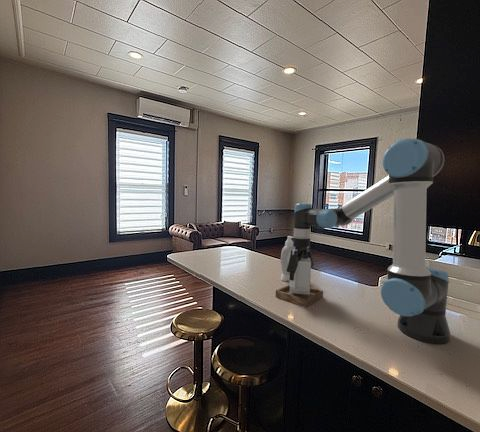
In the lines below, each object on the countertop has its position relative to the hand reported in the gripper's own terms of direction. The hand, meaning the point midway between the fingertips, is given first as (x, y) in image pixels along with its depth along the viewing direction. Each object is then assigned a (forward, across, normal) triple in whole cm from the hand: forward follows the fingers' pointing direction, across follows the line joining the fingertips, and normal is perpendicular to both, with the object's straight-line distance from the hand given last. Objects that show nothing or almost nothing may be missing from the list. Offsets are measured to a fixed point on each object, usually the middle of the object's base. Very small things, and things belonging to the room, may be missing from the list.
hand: (299, 283), depth 121 cm
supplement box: (+4, 0, 0) cm, 4 cm away
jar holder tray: (+6, 0, 0) cm, 6 cm away
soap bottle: (+6, -18, -17) cm, 26 cm away
